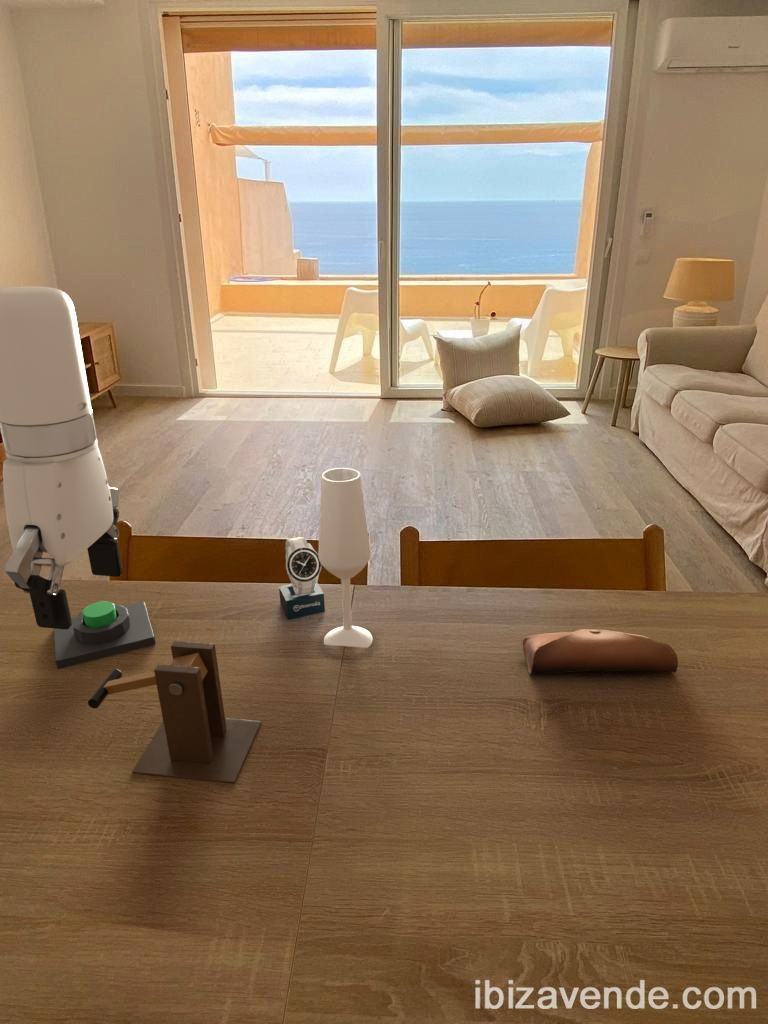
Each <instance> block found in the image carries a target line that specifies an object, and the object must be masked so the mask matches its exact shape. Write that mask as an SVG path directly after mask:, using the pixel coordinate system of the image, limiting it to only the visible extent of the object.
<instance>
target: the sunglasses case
mask: <svg viewBox="0 0 768 1024" xmlns="http://www.w3.org/2000/svg"><path fill="white" fill-rule="evenodd" d="M522 646H523V652H524V657H525V662H526V663H525V664H526V668H527V672H528V674H530V675H532V674H536V675H540V674H541V675H543V674H558V673H559V674H560V673H569V672H572V673H578V672H586V671H587V672H621V671H622V672H667V673H674V674H675V673H677V670H678V667H679V659H678V655H677V653H676V651H675V650H674V648H673V647H672V646H670V644H668V643H664V642H661V641H658V640H655V639H653V638H650V637H647V636H645V635H641V634H634V633H628V632H624V631H623V632H622V631H614V630H609V629H601V628H599V629H587V628H585V629H584V628H583V629H582V628H581V629H577V630H575V631H572V632H571V631H569V632H568V631H566V632H565V631H564V632H563V631H562V632H546V633H538V634H531V635H528V636H525V637H524V638H523V641H522Z"/></svg>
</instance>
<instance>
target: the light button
mask: <svg viewBox="0 0 768 1024" xmlns="http://www.w3.org/2000/svg"><path fill="white" fill-rule="evenodd" d="M114 604H115V603H113V602H111V601H105V600H102V601H101V600H100V601H95V602H93V603H90V604H89V605H87V606H86V607H84V609H83V610H82V612H83V617H84V622H85V625H86V626H87V627H95V628H97V627H101V626H106V625H108V624H110V623H112V622H114V621H115V620H116V618H117V615H116V611H115V606H114Z"/></svg>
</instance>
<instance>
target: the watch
mask: <svg viewBox="0 0 768 1024" xmlns="http://www.w3.org/2000/svg"><path fill="white" fill-rule="evenodd" d="M284 557H285V569H286V574H287V575H288V579H289V581H290V583H289V584H284V585H280V586H278V591H279V592H278V593H279V604H280V607H281V609H282V611H283V613H284V615H285V618H286V619H287V620H288V621H289V620H294V619H298V618H302V617H306V616H312V615H316V614H320V613H325V612H326V607H325V605H326V604H325V592H323V589H322V588H321V586H320V585H319V583H318V582H319V577H320V573H321V571H322V564H321V562H320V561H319V558H318V551H316V550H315V549H314V547H313V546H312V544H311V543H310V542H309V543H308V541H307V540H306V538H305V537H304V536H300V537H294V538H287V539H286V540H285V555H284Z"/></svg>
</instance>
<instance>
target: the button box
mask: <svg viewBox="0 0 768 1024" xmlns="http://www.w3.org/2000/svg"><path fill="white" fill-rule="evenodd" d="M113 604H114V606H115V611H116V615H117V618H116V620H115V621H114V622H112V623H110V624H108V625H106V626H101V627H97V628H95V627H87V626H86V625H85V622H84V617H83V611H80V612H79V613H78V614H77V615H76V616H71V620H72V626H71V627H70V628H69V629H67V630H65V629H55V628H53V635H54V636H53V637H54V639H53V640H54V654H55V655H54V657H55V664H56V667H57V670H60V669H64V668H68V667H72V666H76V665H80V664H84V663H87V662H91V661H96V660H100V659H103V658H109V657H111V656H115V655H120V654H124V653H127V652H131V651H136V650H140V649H143V648H147V647H151V646H156V645H157V644H156V639H155V635H154V631H153V628H152V627H153V626H152V624H151V620H150V617H149V613H148V610H147V606H146V603H145V600H143V601H138V602H133V603H128V604H124V605H120V604H118V603H113Z"/></svg>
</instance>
